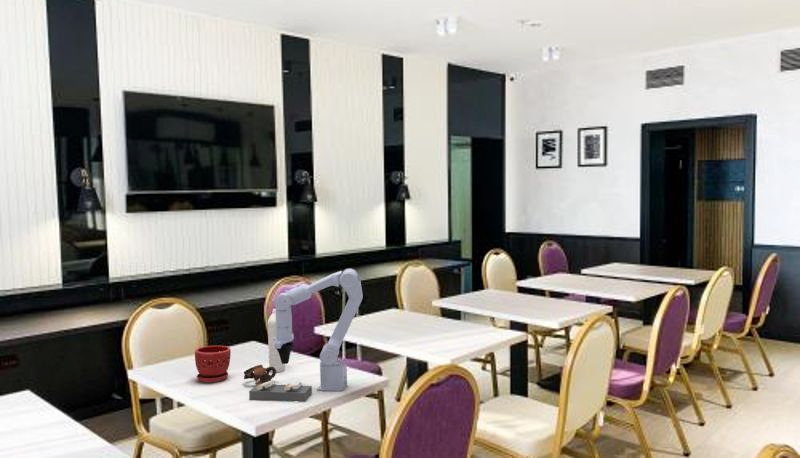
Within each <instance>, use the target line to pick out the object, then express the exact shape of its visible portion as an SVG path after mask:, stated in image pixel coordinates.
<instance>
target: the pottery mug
mask: <svg viewBox="0 0 800 458" xmlns="http://www.w3.org/2000/svg"><path fill="white" fill-rule="evenodd" d="M271 370H272V371H273V372H271V375H270V371H271ZM243 374H244V375H243V380H249V379H253V380H254V381H255V383H254V385H255V386H256V385H258V384H262V383H265V382H268V381H271V380H273V378H275V377H276V375H277V372H276V369H275V368H274V367H269V366H268V367H264V366H263V364H257V365H256V366H252V367H249V368H248V369H246V370H244V371H243Z"/></svg>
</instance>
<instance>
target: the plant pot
mask: <svg viewBox="0 0 800 458" xmlns="http://www.w3.org/2000/svg"><path fill="white" fill-rule="evenodd" d="M231 353H232V352H231V348H230V347H229V346H226V345H207V346H202V347H198V348H196V349H195V351H194V361H195V367H196V370H197V372H198V374H196V378H197V380H199V382H202V383H216V382H217V383H218V382H221V381H224V380H225V379H227V378H228V376H229V372H228V370H229V366H230V363H231Z"/></svg>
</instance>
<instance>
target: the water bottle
mask: <svg viewBox="0 0 800 458" xmlns="http://www.w3.org/2000/svg"><path fill="white" fill-rule="evenodd" d="M267 333H268V335H267V337H268V340H267V341H268V347H267V348H268V364H269V365H268V367H274V368H275V369H276V373H281V372H285V371H286V364H282V362H281V359H280V355H279V353H278V351H277V349H276V348H275V342H276V341H274V340H273V338H276V308H273V309H272V312H271V315H270V316H269V317H268V320H267ZM270 372H271V373H273V371H272V370H271V371H270ZM270 372H269V373H270Z"/></svg>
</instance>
